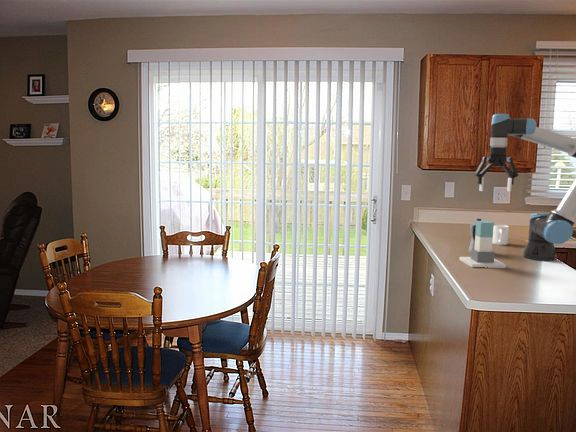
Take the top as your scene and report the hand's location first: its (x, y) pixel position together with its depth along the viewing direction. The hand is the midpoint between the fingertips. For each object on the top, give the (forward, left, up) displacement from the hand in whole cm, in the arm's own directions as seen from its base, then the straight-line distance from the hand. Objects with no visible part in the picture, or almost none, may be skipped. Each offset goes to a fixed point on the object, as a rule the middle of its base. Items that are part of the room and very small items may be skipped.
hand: (495, 191), depth 237 cm
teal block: (+6, +5, -21) cm, 23 cm away
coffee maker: (-2, -22, -35) cm, 41 cm away
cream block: (+6, +5, -28) cm, 29 cm away
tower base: (+6, +5, -35) cm, 36 cm away
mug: (-25, -45, -35) cm, 62 cm away
